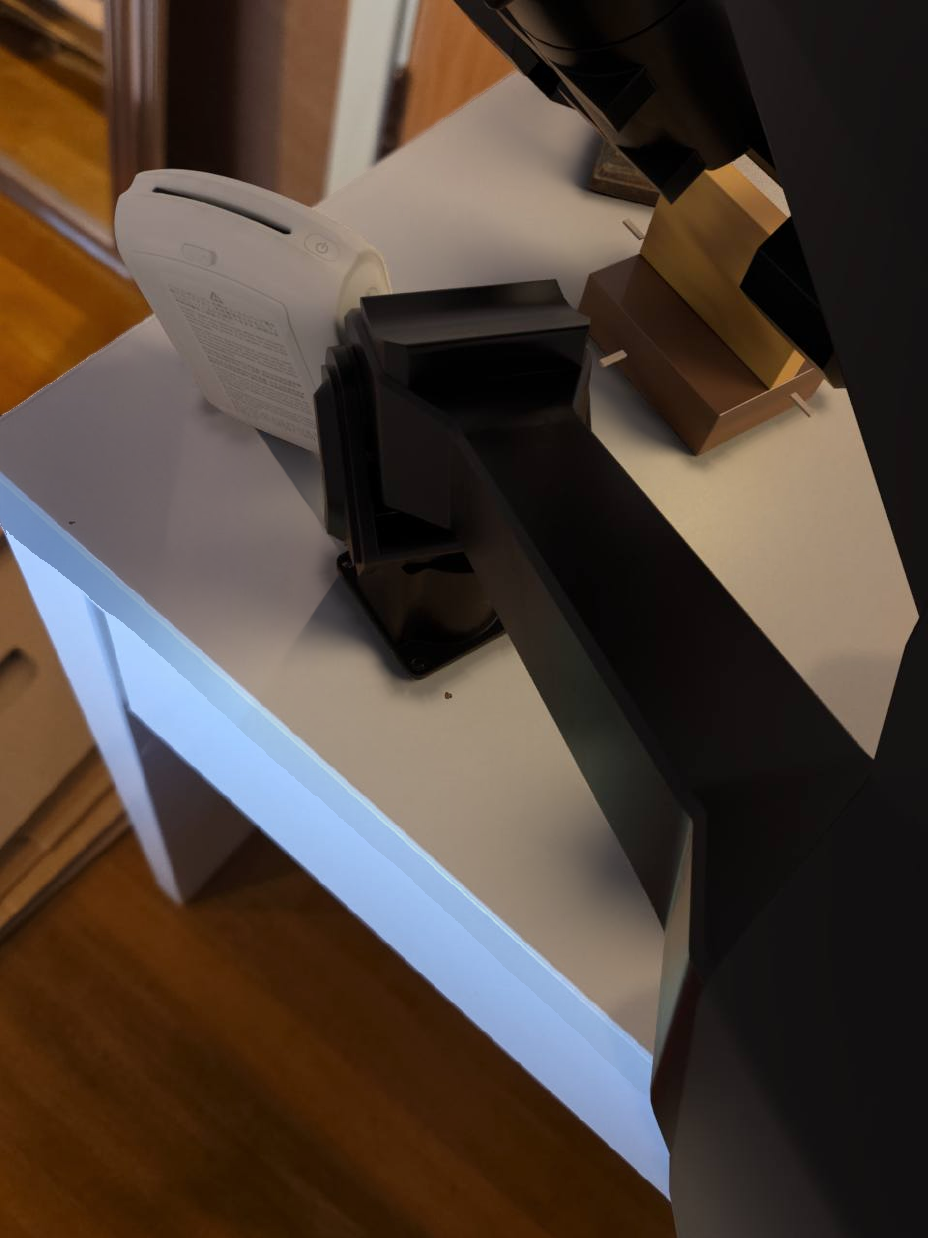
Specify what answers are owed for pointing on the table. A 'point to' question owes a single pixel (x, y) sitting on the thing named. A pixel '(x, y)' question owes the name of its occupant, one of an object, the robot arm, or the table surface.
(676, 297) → the block
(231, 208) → the photo printer
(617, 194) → the clothes iron
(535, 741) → the table surface
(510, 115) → the table surface
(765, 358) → the wooden rectangular block
